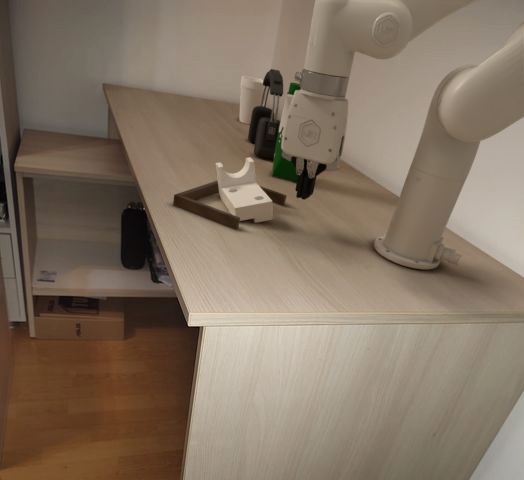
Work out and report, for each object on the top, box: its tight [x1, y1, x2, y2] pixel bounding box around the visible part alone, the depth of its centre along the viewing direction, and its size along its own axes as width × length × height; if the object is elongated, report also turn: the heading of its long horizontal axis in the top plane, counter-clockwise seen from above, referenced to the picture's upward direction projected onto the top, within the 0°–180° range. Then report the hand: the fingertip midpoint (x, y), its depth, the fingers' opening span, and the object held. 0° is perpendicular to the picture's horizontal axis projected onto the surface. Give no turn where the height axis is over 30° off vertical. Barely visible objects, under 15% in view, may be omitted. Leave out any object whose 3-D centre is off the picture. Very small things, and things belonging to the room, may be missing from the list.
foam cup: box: [238, 75, 269, 125], centre depth 162 cm, size 10×9×13 cm
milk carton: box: [271, 82, 311, 183], centre depth 115 cm, size 9×9×20 cm
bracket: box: [215, 156, 274, 223], centre depth 93 cm, size 13×7×8 cm, turn 18°
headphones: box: [247, 68, 284, 160], centre depth 132 cm, size 22×6×20 cm, turn 8°
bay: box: [172, 179, 287, 230], centre depth 96 cm, size 14×21×2 cm, turn 153°
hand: (303, 196), depth 90 cm, fingers closed
